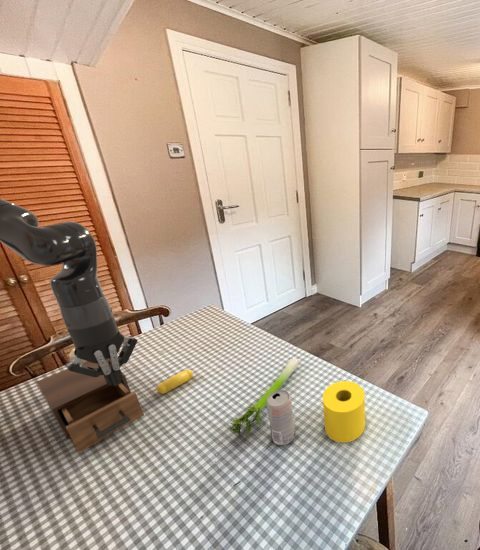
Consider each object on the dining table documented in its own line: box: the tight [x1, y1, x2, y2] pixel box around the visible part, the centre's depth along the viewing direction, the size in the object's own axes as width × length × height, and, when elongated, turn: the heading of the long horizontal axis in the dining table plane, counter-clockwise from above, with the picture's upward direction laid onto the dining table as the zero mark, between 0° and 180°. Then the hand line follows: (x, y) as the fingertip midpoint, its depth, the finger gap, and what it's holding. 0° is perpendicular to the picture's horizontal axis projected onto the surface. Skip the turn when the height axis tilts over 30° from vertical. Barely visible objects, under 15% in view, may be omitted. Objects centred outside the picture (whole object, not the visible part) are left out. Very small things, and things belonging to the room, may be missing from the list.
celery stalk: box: [229, 358, 301, 437], centre depth 83 cm, size 6×7×30 cm
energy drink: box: [266, 389, 296, 446], centre depth 70 cm, size 5×5×12 cm
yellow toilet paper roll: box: [322, 380, 366, 443], centre depth 74 cm, size 10×10×9 cm
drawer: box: [60, 383, 145, 453], centre depth 74 cm, size 19×13×7 cm
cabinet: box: [36, 359, 132, 439], centre depth 80 cm, size 16×14×9 cm
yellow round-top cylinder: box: [156, 369, 194, 395], centre depth 88 cm, size 10×3×3 cm, turn 144°
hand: (116, 383), depth 70 cm, fingers closed
